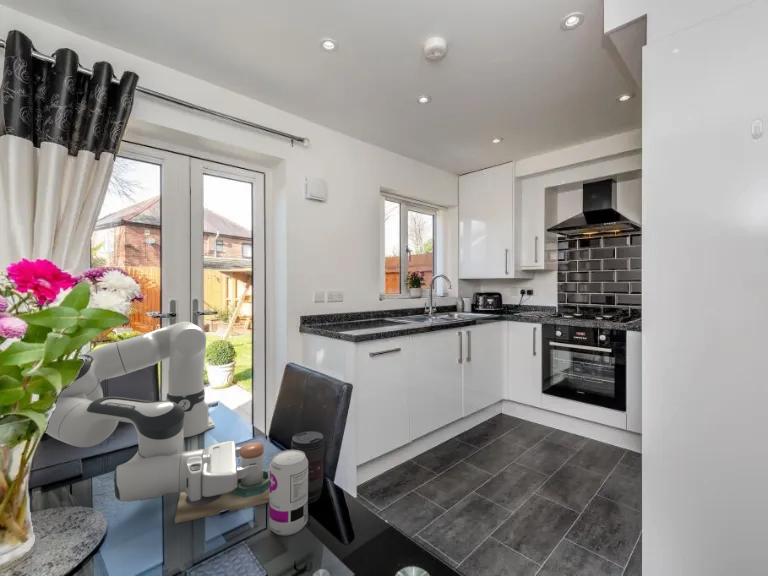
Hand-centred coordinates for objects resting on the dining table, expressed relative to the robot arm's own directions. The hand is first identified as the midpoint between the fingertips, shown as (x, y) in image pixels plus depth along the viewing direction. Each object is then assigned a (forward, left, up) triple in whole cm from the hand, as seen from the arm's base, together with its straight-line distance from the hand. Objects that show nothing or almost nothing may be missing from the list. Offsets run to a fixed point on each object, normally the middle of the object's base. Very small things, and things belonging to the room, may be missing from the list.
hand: (255, 458), depth 92 cm
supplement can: (+17, +6, -8) cm, 20 cm away
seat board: (0, -6, -8) cm, 10 cm away
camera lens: (+8, +12, -8) cm, 16 cm away
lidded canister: (0, -1, -7) cm, 7 cm away
